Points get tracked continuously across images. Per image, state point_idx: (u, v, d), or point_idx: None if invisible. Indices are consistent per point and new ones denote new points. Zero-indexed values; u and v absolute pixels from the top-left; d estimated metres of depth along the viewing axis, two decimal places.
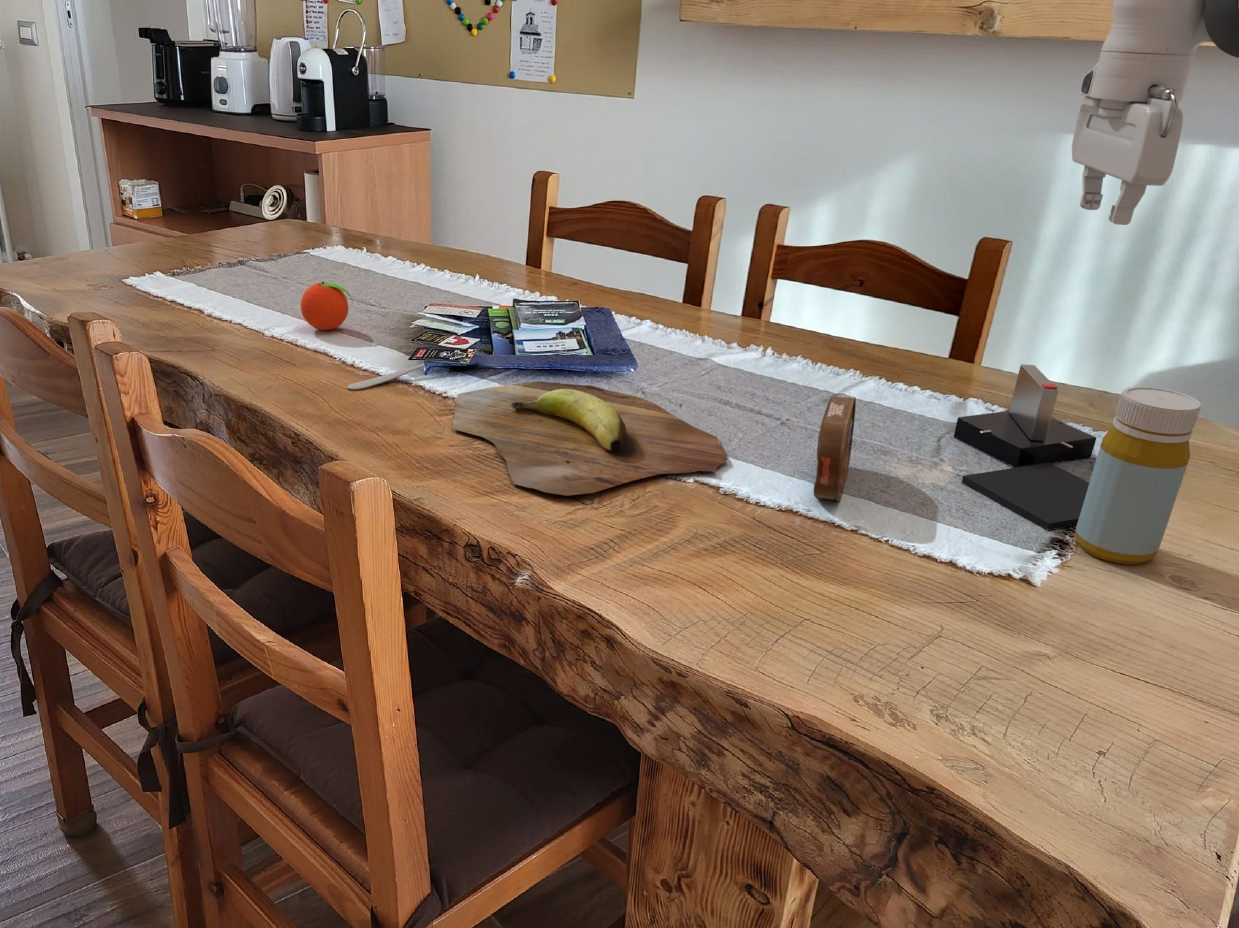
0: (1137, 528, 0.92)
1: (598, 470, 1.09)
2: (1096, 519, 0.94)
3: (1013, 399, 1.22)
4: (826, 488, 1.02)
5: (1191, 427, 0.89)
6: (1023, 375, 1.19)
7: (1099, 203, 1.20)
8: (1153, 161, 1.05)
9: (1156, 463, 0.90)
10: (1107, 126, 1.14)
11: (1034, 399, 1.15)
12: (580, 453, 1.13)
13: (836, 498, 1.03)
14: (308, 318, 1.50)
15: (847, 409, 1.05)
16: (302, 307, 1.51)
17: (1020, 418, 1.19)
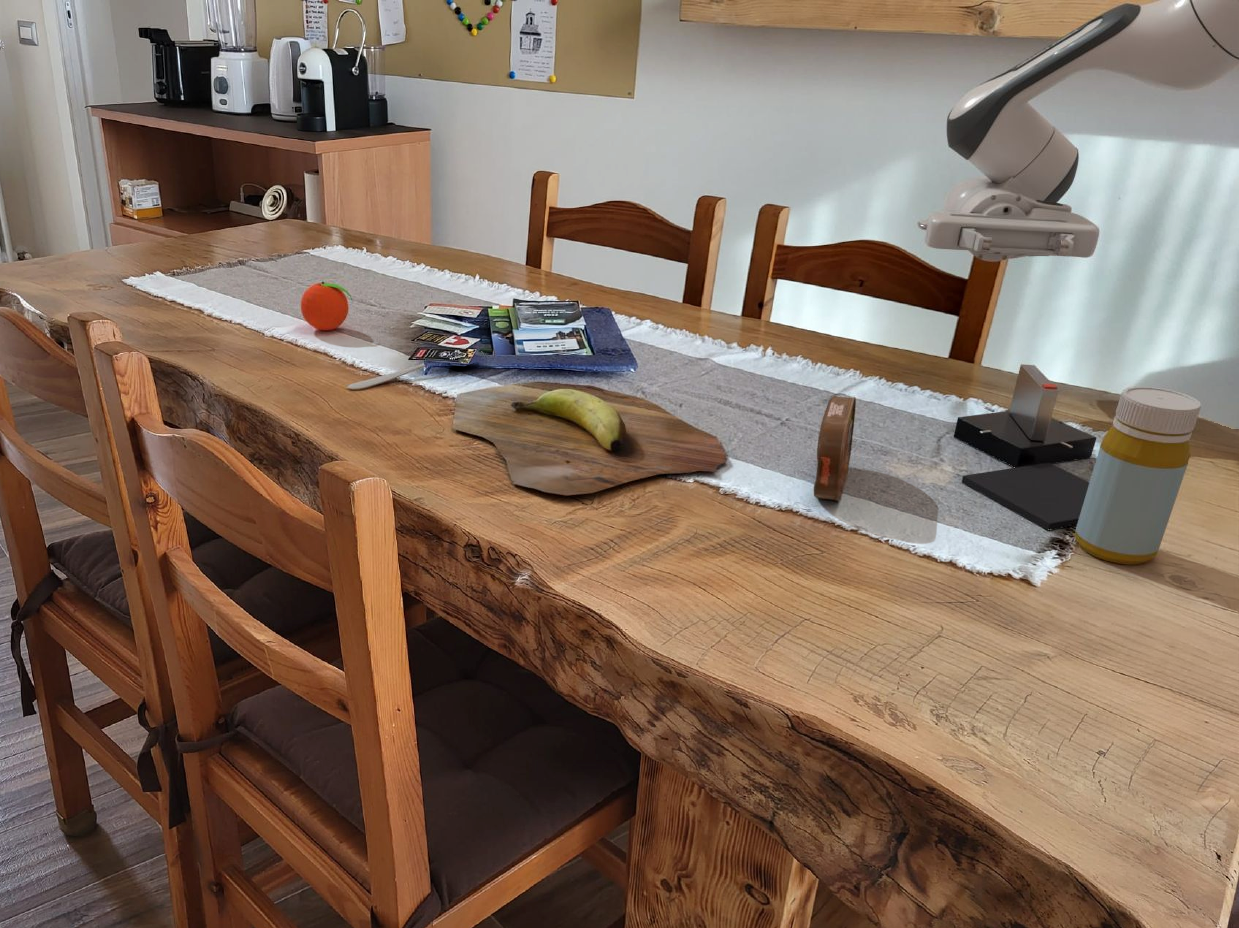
0: (1137, 528, 0.92)
1: (598, 470, 1.09)
2: (1096, 519, 0.94)
3: (1013, 399, 1.22)
4: (826, 488, 1.02)
5: (1191, 427, 0.89)
6: (1023, 375, 1.19)
7: (1060, 241, 1.24)
8: (927, 234, 1.32)
9: (1156, 463, 0.90)
10: None
11: (1034, 399, 1.15)
12: (580, 453, 1.13)
13: (836, 498, 1.03)
14: (308, 318, 1.50)
15: (847, 409, 1.05)
16: (302, 307, 1.51)
17: (1020, 418, 1.19)
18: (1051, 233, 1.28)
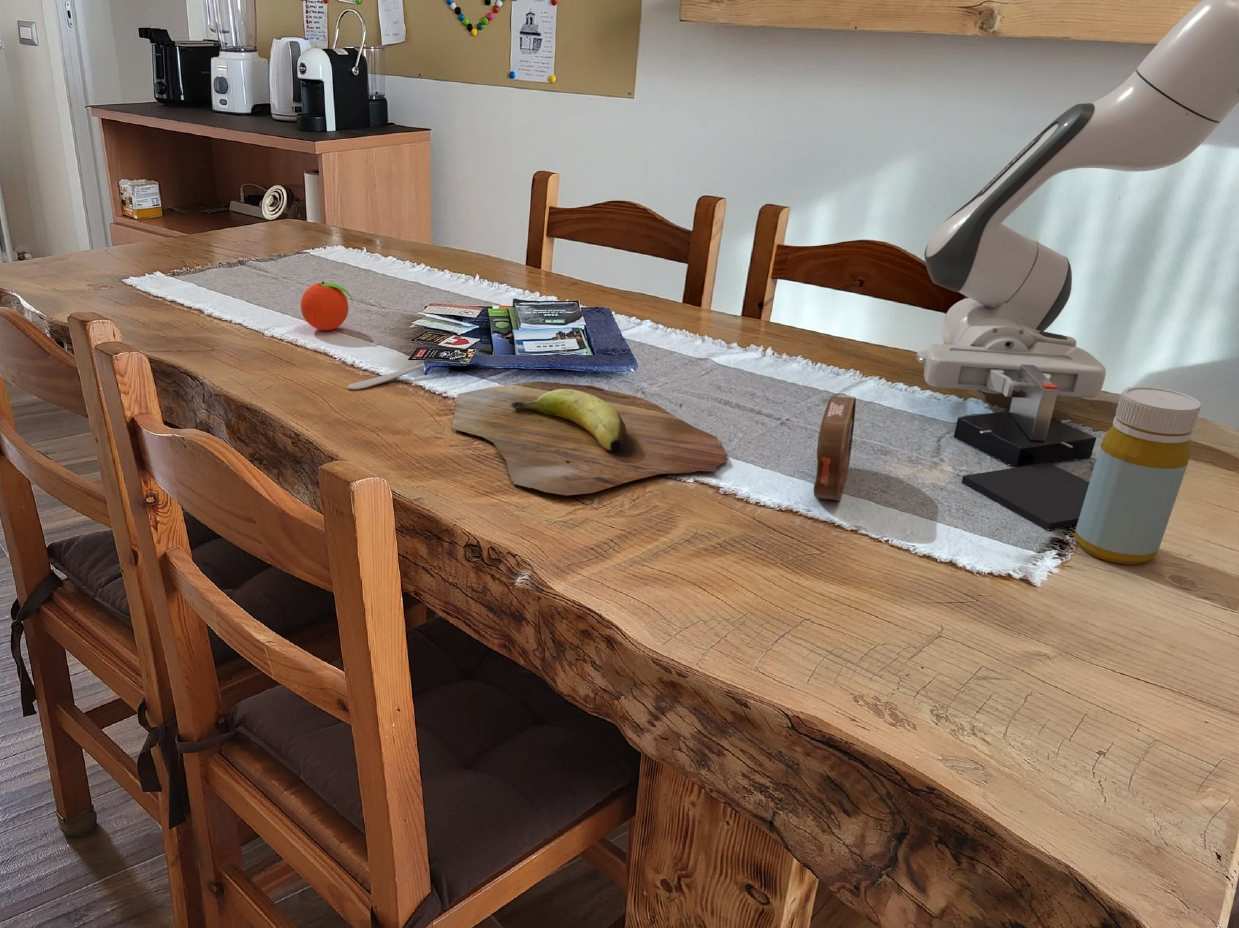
0: (1137, 528, 0.92)
1: (598, 470, 1.09)
2: (1096, 519, 0.94)
3: (1013, 399, 1.22)
4: (826, 488, 1.02)
5: (1191, 427, 0.89)
6: (1023, 375, 1.19)
7: None
8: (926, 370, 1.27)
9: (1156, 463, 0.90)
10: None
11: (1034, 399, 1.15)
12: (580, 453, 1.13)
13: (836, 498, 1.03)
14: (308, 318, 1.50)
15: (847, 409, 1.05)
16: (302, 307, 1.51)
17: (1020, 418, 1.19)
18: None
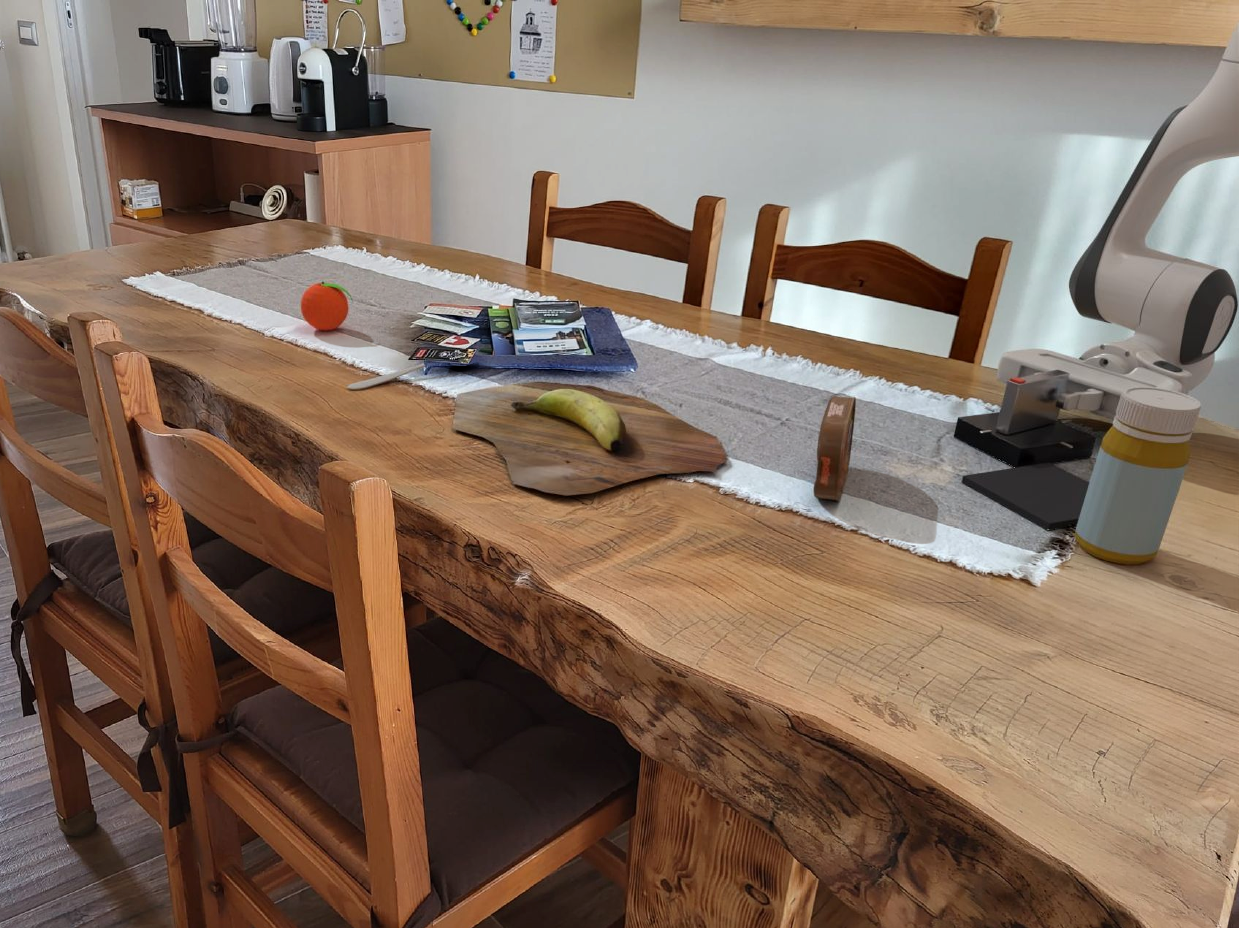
0: (1137, 528, 0.92)
1: (598, 470, 1.09)
2: (1096, 519, 0.94)
3: None
4: (826, 488, 1.02)
5: (1191, 427, 0.89)
6: None
7: (1063, 393, 1.17)
8: None
9: (1156, 463, 0.90)
10: None
11: None
12: (580, 453, 1.13)
13: (836, 498, 1.03)
14: (308, 318, 1.50)
15: (847, 409, 1.05)
16: (302, 307, 1.51)
17: None
18: (1088, 386, 1.19)
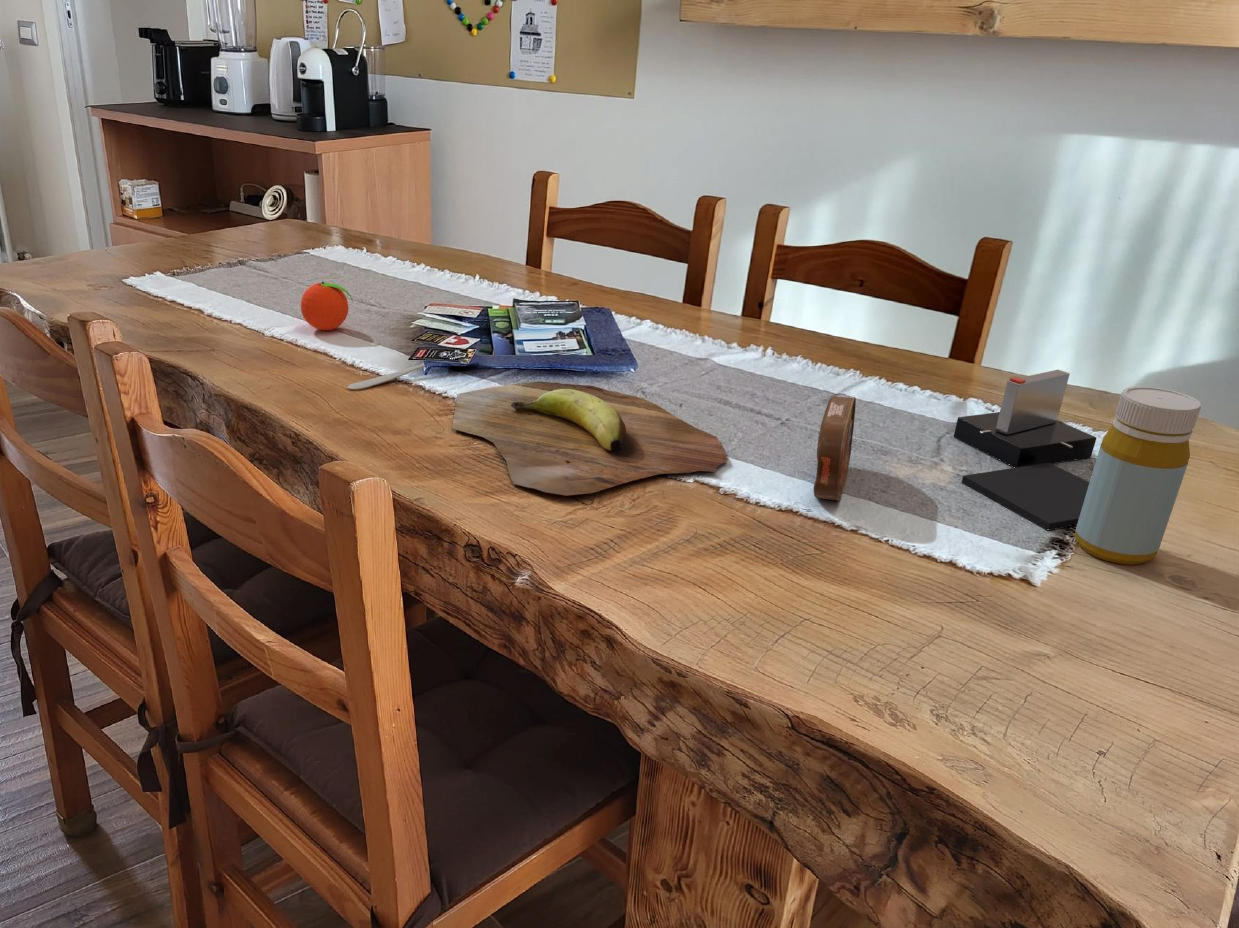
0: (1137, 528, 0.92)
1: (598, 470, 1.09)
2: (1096, 519, 0.94)
3: None
4: (826, 488, 1.02)
5: (1191, 427, 0.89)
6: None
7: None
8: None
9: (1156, 463, 0.90)
10: None
11: None
12: (580, 453, 1.13)
13: (836, 498, 1.03)
14: (308, 318, 1.50)
15: (847, 409, 1.05)
16: (302, 307, 1.51)
17: None
18: None
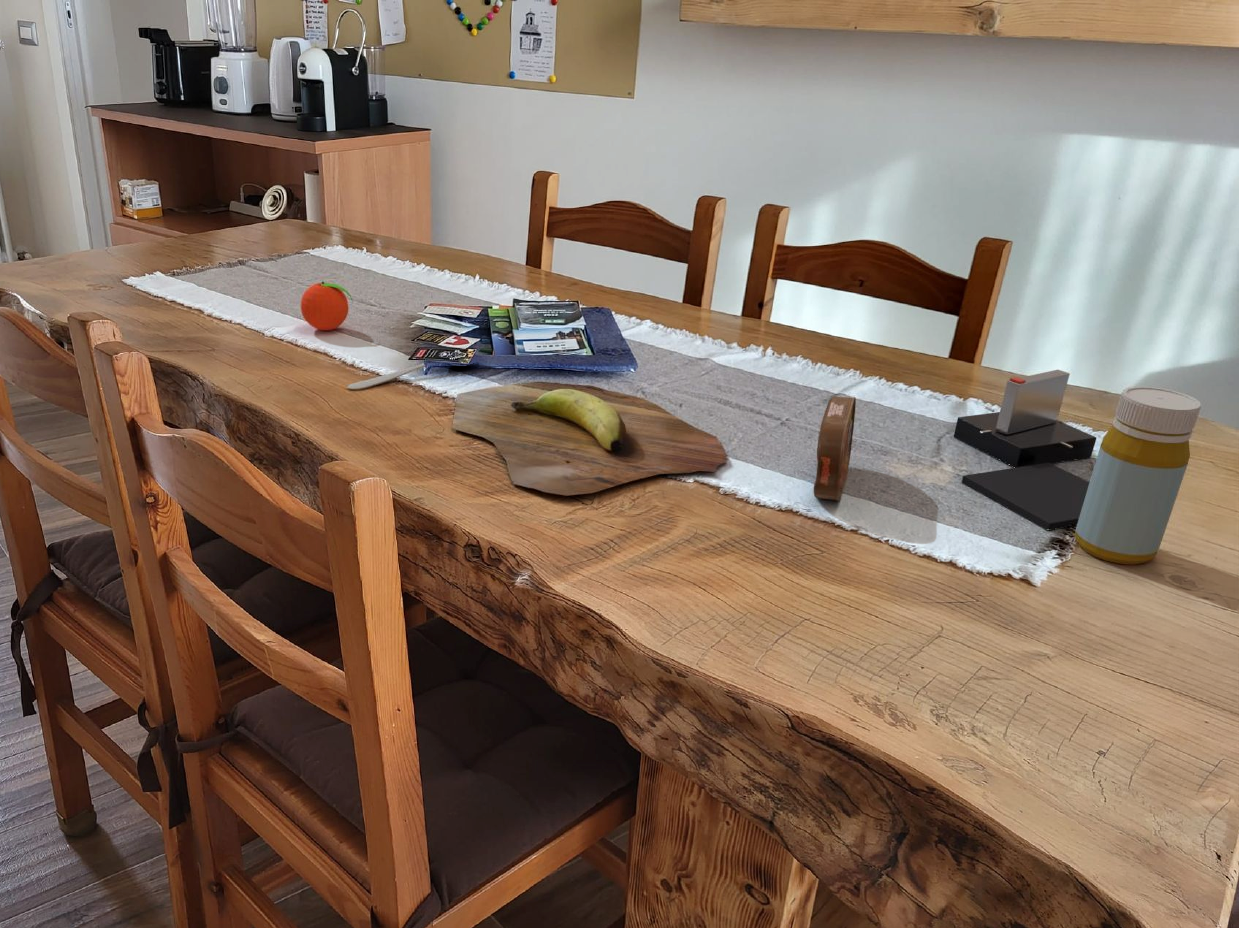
0: (1137, 528, 0.92)
1: (598, 470, 1.09)
2: (1096, 519, 0.94)
3: None
4: (826, 488, 1.02)
5: (1191, 427, 0.89)
6: None
7: None
8: None
9: (1156, 463, 0.90)
10: None
11: None
12: (580, 453, 1.13)
13: (836, 498, 1.03)
14: (308, 318, 1.50)
15: (847, 409, 1.05)
16: (302, 307, 1.51)
17: None
18: None
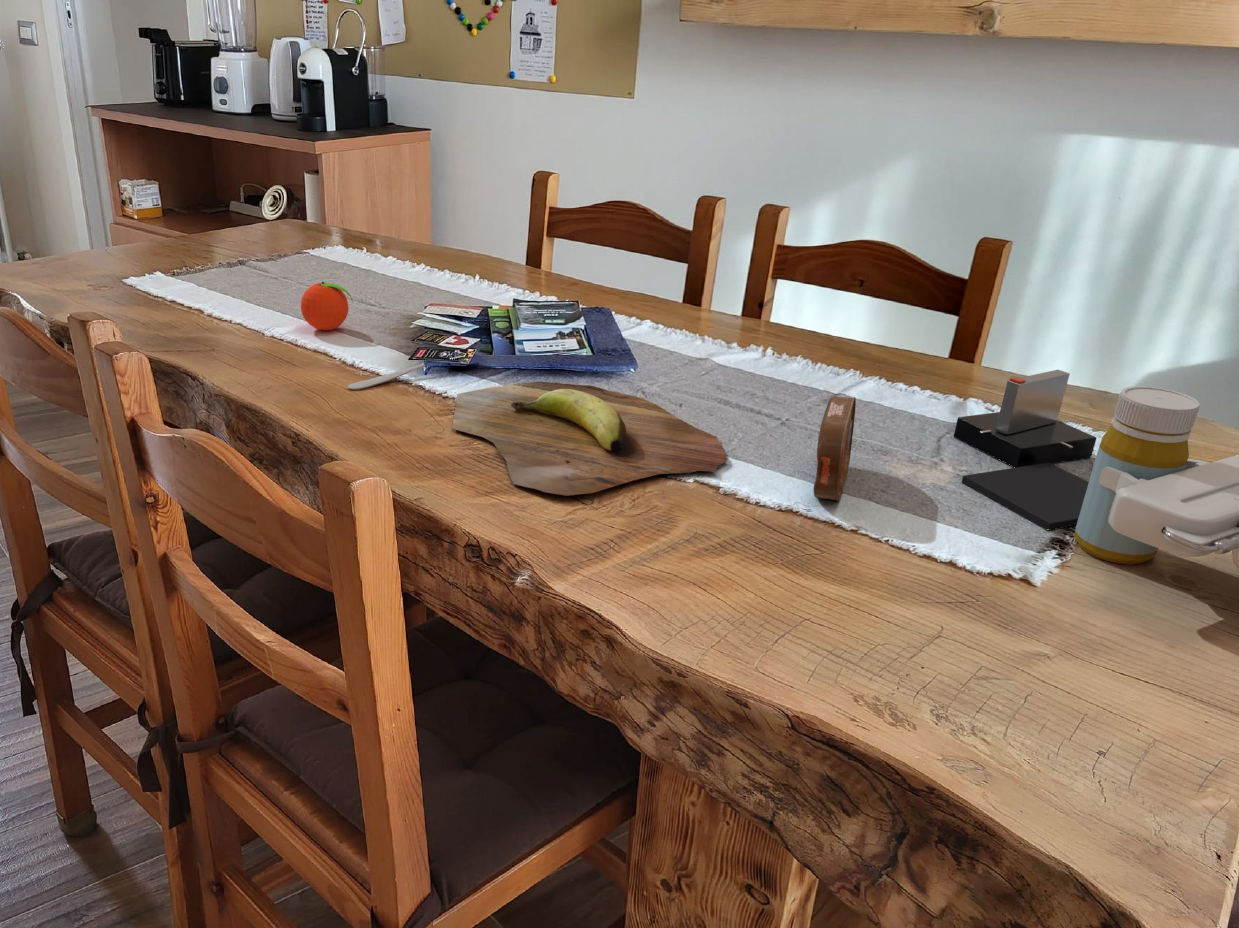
0: None
1: (598, 470, 1.09)
2: (1095, 518, 0.94)
3: None
4: (826, 488, 1.02)
5: (1190, 427, 0.89)
6: None
7: None
8: (1134, 514, 0.84)
9: (1155, 463, 0.90)
10: None
11: None
12: (580, 453, 1.13)
13: (836, 498, 1.03)
14: (308, 318, 1.50)
15: (847, 409, 1.05)
16: (302, 307, 1.51)
17: None
18: None
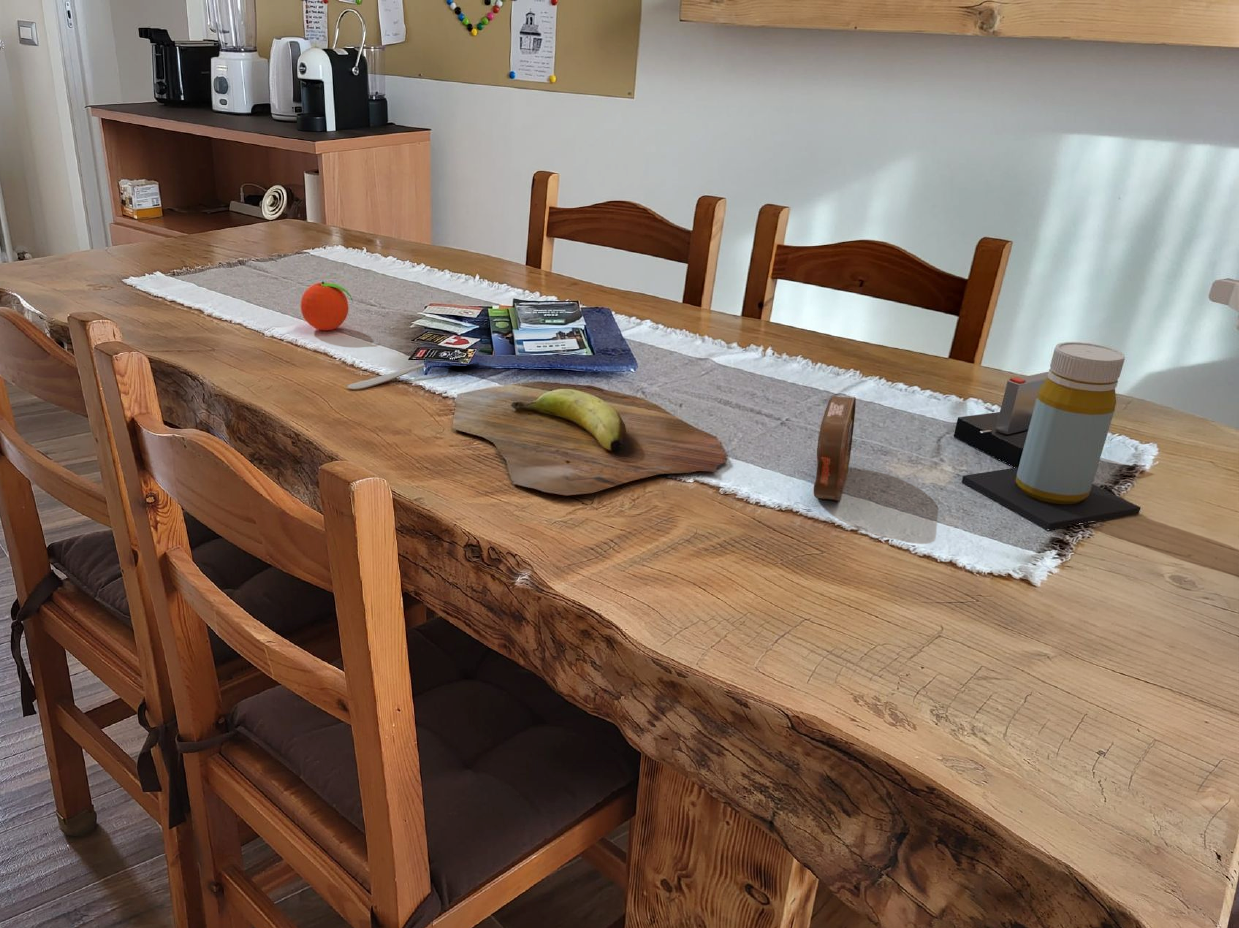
0: (1069, 470, 1.02)
1: (598, 470, 1.09)
2: (1033, 463, 1.04)
3: None
4: (826, 488, 1.02)
5: (1116, 377, 0.99)
6: None
7: None
8: None
9: (1085, 410, 0.99)
10: None
11: None
12: (580, 453, 1.13)
13: (836, 498, 1.03)
14: (308, 318, 1.50)
15: (847, 409, 1.05)
16: (302, 307, 1.51)
17: None
18: None
